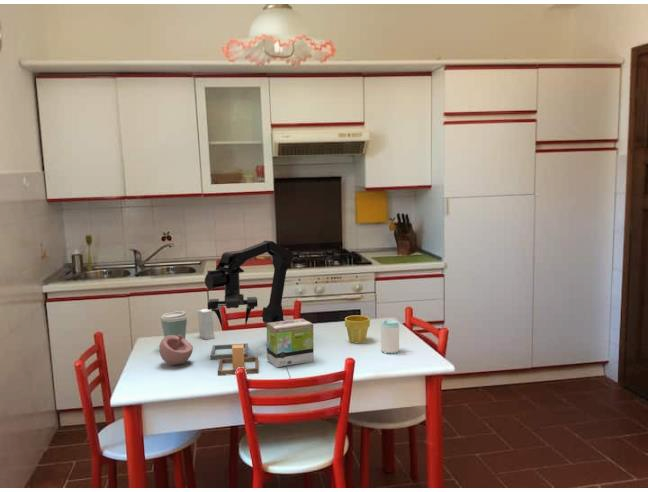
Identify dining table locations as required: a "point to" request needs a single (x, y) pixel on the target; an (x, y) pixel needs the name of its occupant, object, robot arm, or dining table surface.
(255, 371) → the frame
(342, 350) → the dining table surface
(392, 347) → the can
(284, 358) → the tea box
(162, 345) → the mortar and pestle
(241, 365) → the plug block
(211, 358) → the gray square frame
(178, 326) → the disposable coffee cup
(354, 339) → the plant pot
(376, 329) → the dining table surface
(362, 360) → the dining table surface
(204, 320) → the skincare box
